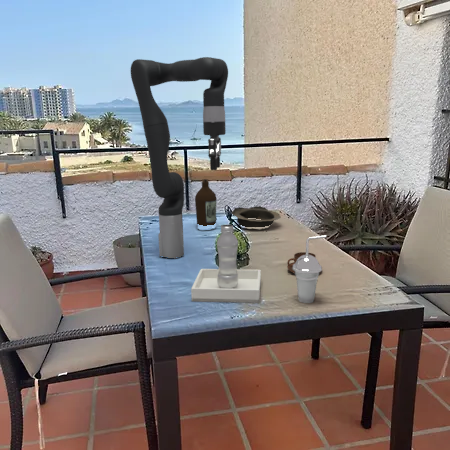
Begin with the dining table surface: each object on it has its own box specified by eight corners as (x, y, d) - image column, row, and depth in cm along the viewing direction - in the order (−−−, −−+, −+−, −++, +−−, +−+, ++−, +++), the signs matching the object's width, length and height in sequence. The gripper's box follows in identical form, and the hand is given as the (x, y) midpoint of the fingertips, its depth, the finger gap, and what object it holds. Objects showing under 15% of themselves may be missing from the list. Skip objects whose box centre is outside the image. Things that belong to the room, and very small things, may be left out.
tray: (191, 301, 128) (191, 288, 127) (201, 280, 145) (200, 268, 144) (259, 303, 126) (259, 290, 125) (260, 281, 143) (260, 269, 142)
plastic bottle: (216, 284, 138) (215, 223, 133) (237, 283, 139) (236, 223, 134) (217, 292, 132) (216, 228, 127) (239, 290, 132) (239, 227, 128)
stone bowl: (233, 220, 232) (235, 204, 230) (280, 224, 229) (281, 208, 227) (228, 231, 209) (229, 212, 207) (279, 235, 206) (281, 217, 204)
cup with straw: (300, 292, 133) (302, 229, 128) (327, 299, 127) (330, 233, 123) (286, 301, 127) (287, 235, 122) (313, 308, 121) (316, 240, 116)
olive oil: (191, 229, 217) (189, 179, 211) (207, 225, 224) (206, 177, 218) (205, 232, 209) (204, 181, 203) (221, 228, 216) (220, 179, 211)
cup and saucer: (301, 280, 144) (301, 262, 142) (280, 270, 154) (280, 253, 153) (329, 274, 149) (329, 257, 148) (307, 264, 160) (307, 248, 158)
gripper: (206, 121, 153) (207, 166, 156) (199, 120, 139) (201, 171, 143) (227, 120, 152) (228, 166, 156) (222, 120, 138) (223, 170, 142)
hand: (215, 168), depth 149 cm, fingers open, 8 cm apart
